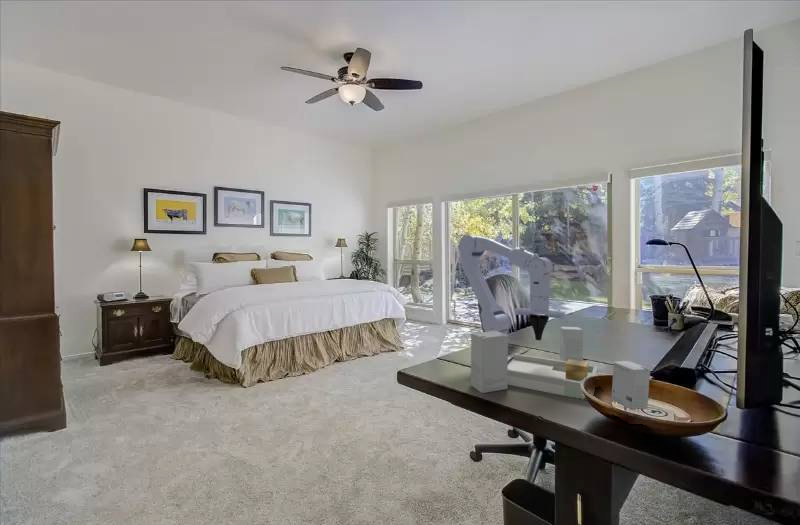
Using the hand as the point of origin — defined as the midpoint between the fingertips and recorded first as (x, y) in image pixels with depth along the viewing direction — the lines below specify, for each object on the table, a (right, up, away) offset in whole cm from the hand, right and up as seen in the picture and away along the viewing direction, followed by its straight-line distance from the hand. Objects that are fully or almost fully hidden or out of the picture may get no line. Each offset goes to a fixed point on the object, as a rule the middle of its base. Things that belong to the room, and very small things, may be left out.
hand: (538, 339), depth 115 cm
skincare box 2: (+13, -10, +6) cm, 17 cm away
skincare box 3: (+7, -11, -34) cm, 36 cm away
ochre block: (+5, -7, -14) cm, 17 cm away
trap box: (-1, -10, -10) cm, 14 cm away
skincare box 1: (-19, -10, -16) cm, 27 cm away
